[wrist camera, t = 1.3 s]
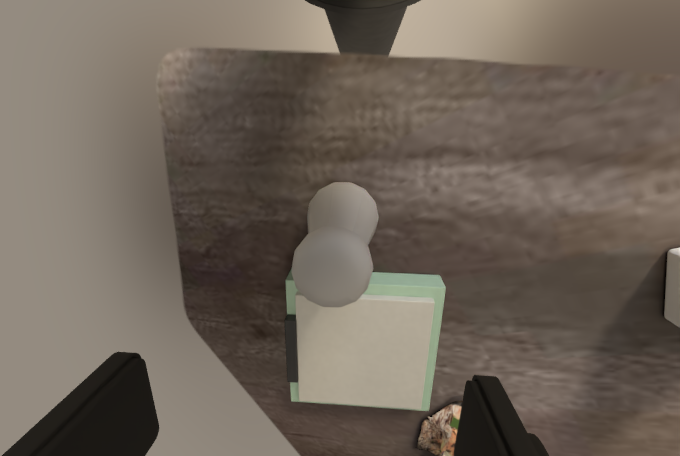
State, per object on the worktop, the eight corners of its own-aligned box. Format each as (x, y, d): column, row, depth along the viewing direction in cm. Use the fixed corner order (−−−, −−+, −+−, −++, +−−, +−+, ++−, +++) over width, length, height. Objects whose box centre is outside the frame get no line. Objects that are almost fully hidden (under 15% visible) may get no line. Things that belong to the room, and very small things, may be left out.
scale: (291, 268, 30) (282, 285, 27) (439, 274, 29) (449, 293, 26) (295, 383, 35) (288, 410, 31) (424, 391, 34) (430, 420, 31)
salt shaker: (313, 239, 29) (276, 325, 17) (310, 177, 27) (265, 223, 15) (377, 239, 29) (387, 328, 16) (378, 176, 27) (390, 223, 14)
